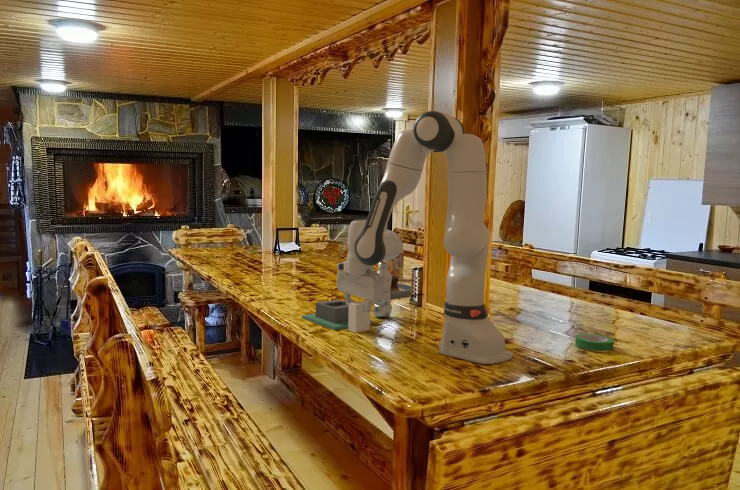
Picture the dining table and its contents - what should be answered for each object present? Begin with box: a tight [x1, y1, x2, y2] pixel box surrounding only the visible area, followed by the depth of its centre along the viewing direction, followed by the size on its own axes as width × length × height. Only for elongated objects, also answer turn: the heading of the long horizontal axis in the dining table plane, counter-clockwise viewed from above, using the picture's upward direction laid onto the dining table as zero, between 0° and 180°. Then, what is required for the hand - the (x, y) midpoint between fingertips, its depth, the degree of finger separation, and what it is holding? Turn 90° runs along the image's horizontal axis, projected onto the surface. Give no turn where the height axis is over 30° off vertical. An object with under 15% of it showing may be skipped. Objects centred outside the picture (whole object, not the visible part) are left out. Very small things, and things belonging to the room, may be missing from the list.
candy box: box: [384, 250, 405, 281], centre depth 285 cm, size 9×4×15 cm, turn 103°
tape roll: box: [575, 333, 615, 352], centre depth 181 cm, size 11×11×3 cm
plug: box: [347, 300, 371, 333], centre depth 191 cm, size 4×6×9 cm, turn 129°
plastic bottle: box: [372, 261, 392, 319], centre depth 210 cm, size 6×7×20 cm
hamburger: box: [375, 270, 400, 292], centre depth 256 cm, size 16×13×10 cm
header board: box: [301, 299, 374, 331], centre depth 203 cm, size 20×16×6 cm
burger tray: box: [390, 282, 412, 300], centre depth 255 cm, size 20×22×3 cm
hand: (357, 309), depth 191 cm, fingers open, 8 cm apart
